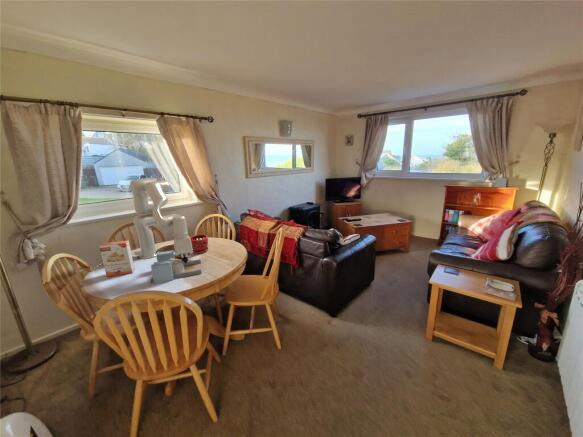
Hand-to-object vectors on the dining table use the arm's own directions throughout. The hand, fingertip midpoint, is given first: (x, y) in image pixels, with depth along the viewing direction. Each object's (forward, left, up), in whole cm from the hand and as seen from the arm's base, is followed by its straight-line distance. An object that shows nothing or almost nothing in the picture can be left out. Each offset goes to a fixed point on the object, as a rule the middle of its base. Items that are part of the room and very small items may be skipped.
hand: (185, 262), depth 150 cm
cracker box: (-39, +13, -6) cm, 42 cm away
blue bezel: (-12, 0, -6) cm, 14 cm away
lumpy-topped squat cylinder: (-8, 0, -6) cm, 10 cm away
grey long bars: (-5, 0, -6) cm, 8 cm away
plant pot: (+9, +30, -6) cm, 32 cm away
